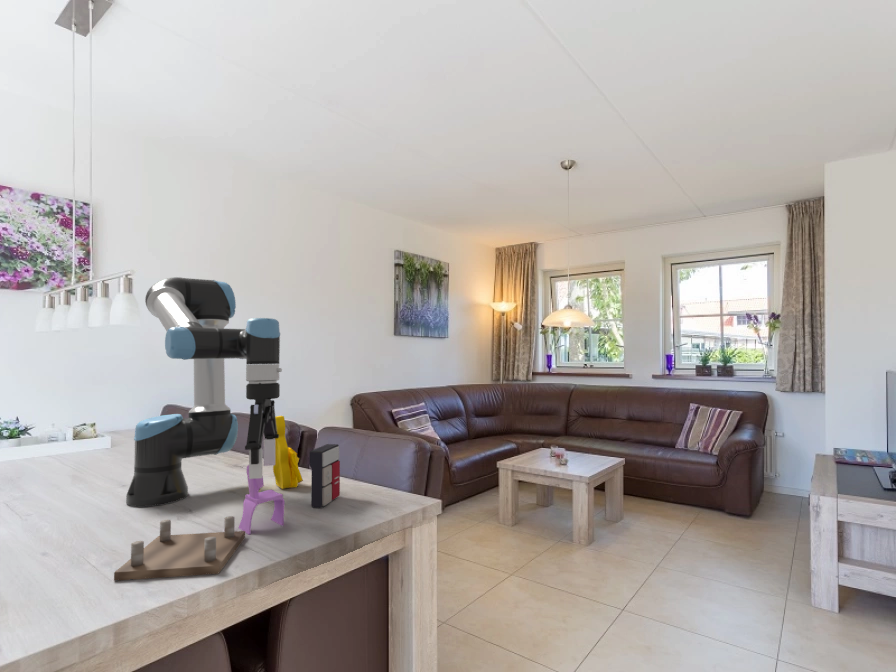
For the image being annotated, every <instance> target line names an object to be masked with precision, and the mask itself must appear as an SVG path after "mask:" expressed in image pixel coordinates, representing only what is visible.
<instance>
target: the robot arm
mask: <svg viewBox="0 0 896 672" xmlns="http://www.w3.org/2000/svg"><path fill="white" fill-rule="evenodd" d="M144 299H145V300H144V301H145V305H146V308H147V309H148V310H147V311H148V312H149V313H150V314H151V315H153V316H154V318H155V317H156V319H157V318H158V320H159V321H160V322H161V324H162V327H164V330H165V331H166V333H165V337H164V347H165V353H166V356H167V357H169V358H170V359H175V360H176V359H177V360H178V359H179V360H180V359H181V360H182V361H183V360H193V407H191V409H190V410H188V418H187V417H186V418H184V417H183V415H182V414H180V413H173V414H164V415H158V416H153V417H149V418H146V419H142V420H141V421H139V422H138V423H136V425H135V430H134V437H133V441H134V463H133V465H134V466H133V469H134V470H133V472H134V473H133V477H132V479H131V482H130V484H129V487H128V490H127V493H126V495H125V497H126V499H125V502H126V505H127V506H131V507H153V506H154V507H155V506H160V505H166V504H167V505H168V504H171V503H174V502H175V503H176V502H178V501H181V500H184V499H185V498H187V497H188V494H189V486H188V483H187V481H186V478H185V475H184V472H183V469H182V462H183V461H182V459H189V458H196V457H203V456H210V455H211V456H217V455H218V454H222V453H223V454H224V453H227V452H230V451H231V450H232V449H233V447H234V446H235V443H236V441H237V438H238V432H239V423H238V417H237V416H236V415H235V414H233V413H231V408H230V407H229V406H228V405H227V404H226V389H225V388H226V387H225V385H226V383H225V381H226V380H225V378H226V377H225V374H226V373H225V359H229V360H230V359H240V360H246V368H245V369H246V371H245V373H246V374H245V380H246V382H248V383H247V384H246V386H245V387H246V388H245V389H246V390H245V393H246V395H245V397H246V399H247V400H251V401H252V400H254V404H250V407H249V409H250V411H249V413H250V414H249V421H248V431H247V437H246V445H244V450H245V451H248V455H249V456H248V465H249V479H257V478H262V475H263V467H265V466H266V467H268V466H273V465H275V438H278V437H279V434H277V426H276V418H275V417H276V411H275V403H276V402H275V400H274V399H278V398H280V388H281V387H280V383H279V382H277V381H279V380H280V373H281V372H283V371H282V370H283V369H282V367H280V350H281V349H280V348H281V347H280V346H281V345H280V344H281V343H280V342H281V340H280V339H281V337H280V336H281V332H280V322H279V321H278V319H275V318H269V317H266V318H265V317H256V318H254V317H253V318H252V317H251V318H249V319H248V320H247V321H246V327H245V328H225V327H226V326H227V325H228V324H230V319H232V318H234V315H235V314H236V308H237V307H236V306H237V304H236V297H235V292H234V290H233V288H232V286H231V285H230V284H229V283H227V282H225V281H218V280H215V279H199V278H187V277H186V278H185V277H180V276H179V277H177V276H176V277H168V278H167V277H166V278H165V279H161V280H160V281H159V280H158V281H157V282H156V283H154V284H153V285H151V286H150V288H148V290H147V292H146V295H145V298H144ZM263 438H264V439H263ZM262 444H263V448H262Z"/></svg>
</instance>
